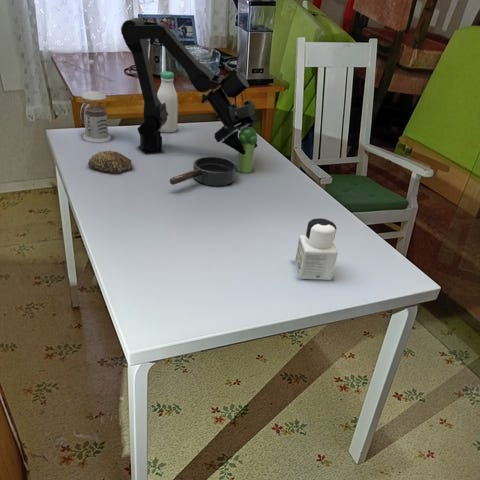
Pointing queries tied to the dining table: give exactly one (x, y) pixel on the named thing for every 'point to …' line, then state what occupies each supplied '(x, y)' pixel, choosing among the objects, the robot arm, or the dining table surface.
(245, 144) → the broccoli
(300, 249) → the container
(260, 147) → the dining table surface
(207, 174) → the pan
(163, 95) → the milk bottle
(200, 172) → the pan handle
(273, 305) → the dining table surface
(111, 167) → the bread roll
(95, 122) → the french press
